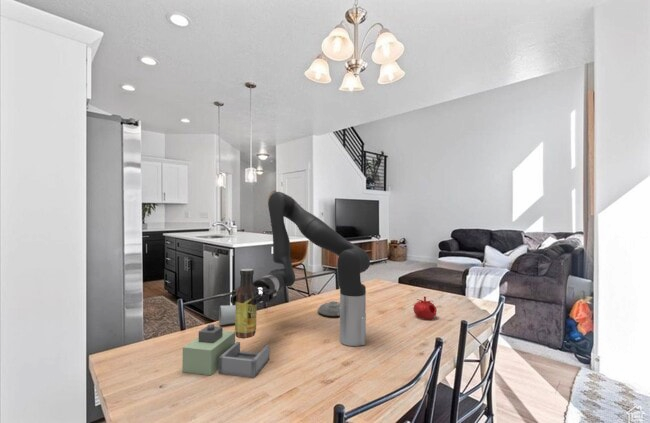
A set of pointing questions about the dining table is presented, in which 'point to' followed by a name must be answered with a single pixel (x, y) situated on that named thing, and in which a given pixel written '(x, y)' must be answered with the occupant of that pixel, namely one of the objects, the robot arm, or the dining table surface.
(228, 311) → the white cylinder
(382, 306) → the dining table surface
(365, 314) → the robot arm
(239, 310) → the sauce bottle
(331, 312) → the flying saucer
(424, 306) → the red round fruit
